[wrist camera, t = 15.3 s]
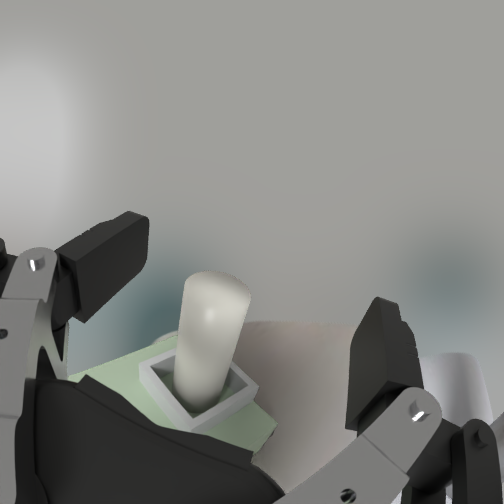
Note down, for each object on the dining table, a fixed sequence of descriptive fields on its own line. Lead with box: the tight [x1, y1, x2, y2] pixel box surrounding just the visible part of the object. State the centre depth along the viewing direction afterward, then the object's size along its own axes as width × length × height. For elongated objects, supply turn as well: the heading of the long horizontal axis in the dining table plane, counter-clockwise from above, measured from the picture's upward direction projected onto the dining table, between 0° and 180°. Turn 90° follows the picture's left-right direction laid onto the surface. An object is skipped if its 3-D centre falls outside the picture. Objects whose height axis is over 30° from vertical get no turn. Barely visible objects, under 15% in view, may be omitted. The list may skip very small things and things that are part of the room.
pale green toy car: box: [68, 335, 278, 455], centre depth 27 cm, size 16×21×11 cm
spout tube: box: [172, 271, 251, 414], centre depth 26 cm, size 5×5×14 cm
